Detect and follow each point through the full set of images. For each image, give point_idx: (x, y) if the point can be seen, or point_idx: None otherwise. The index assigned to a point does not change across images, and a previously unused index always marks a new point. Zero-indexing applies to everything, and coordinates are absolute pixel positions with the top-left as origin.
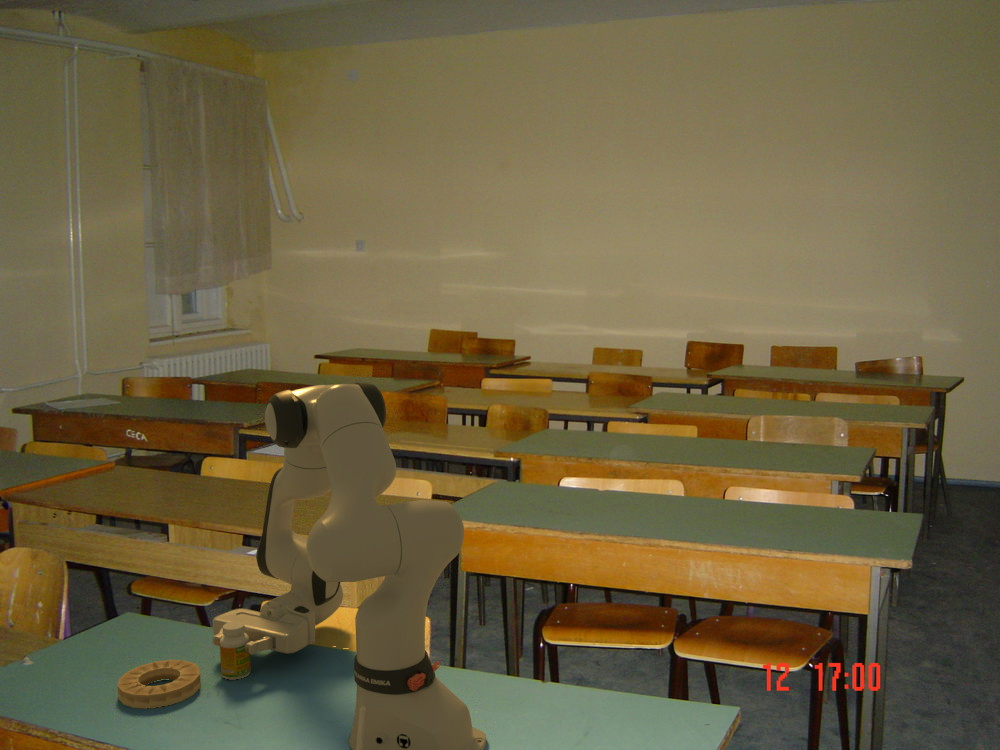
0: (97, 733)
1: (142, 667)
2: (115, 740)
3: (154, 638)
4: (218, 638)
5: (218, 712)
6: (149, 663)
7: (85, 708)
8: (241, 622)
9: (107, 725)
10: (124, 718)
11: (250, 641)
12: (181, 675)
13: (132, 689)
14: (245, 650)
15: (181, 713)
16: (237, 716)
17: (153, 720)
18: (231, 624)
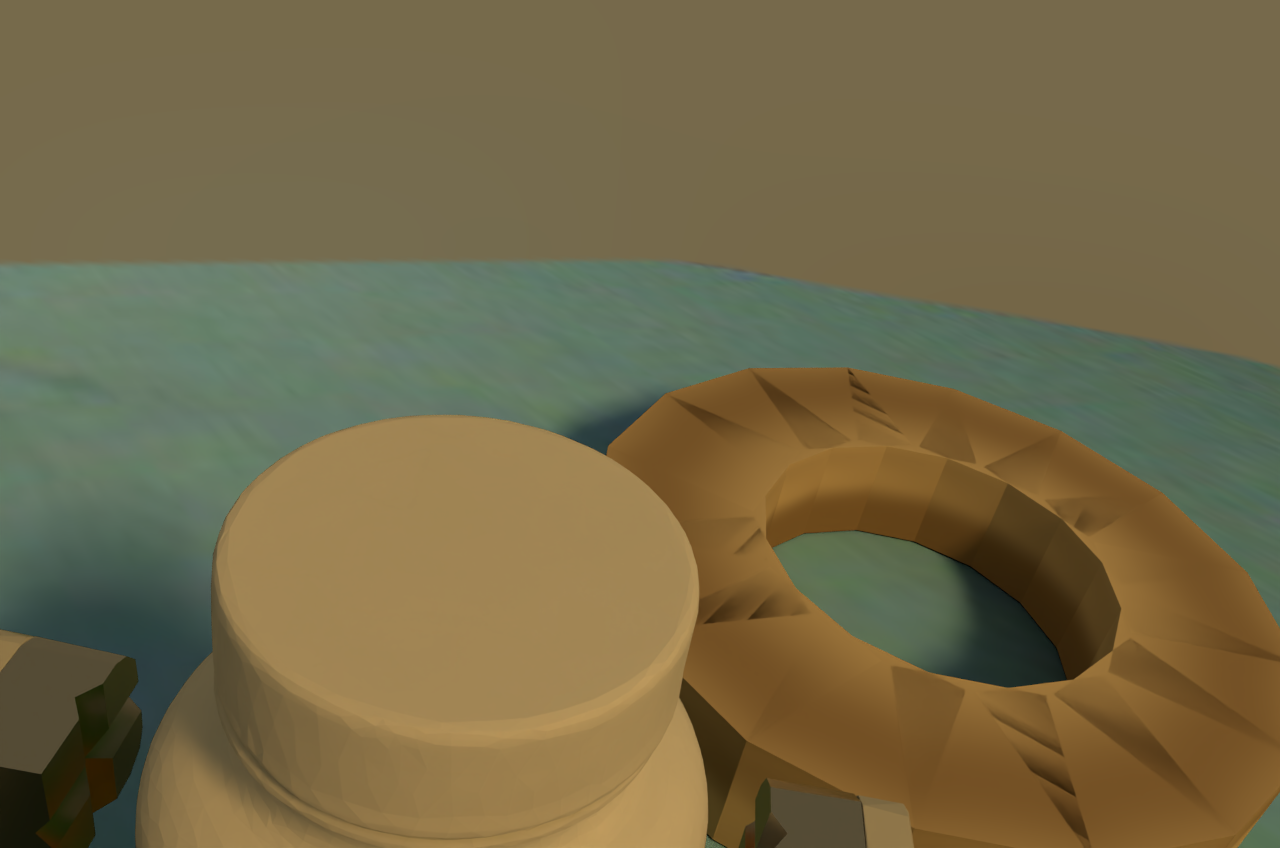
0: (765, 294)
1: (1247, 654)
2: (632, 264)
3: None
4: (771, 779)
5: (203, 460)
6: None
7: (1068, 426)
8: (360, 684)
9: (788, 334)
10: None
11: (53, 755)
12: (787, 593)
13: (920, 406)
14: (127, 706)
15: None
16: (15, 436)
17: (593, 373)
18: (540, 567)
